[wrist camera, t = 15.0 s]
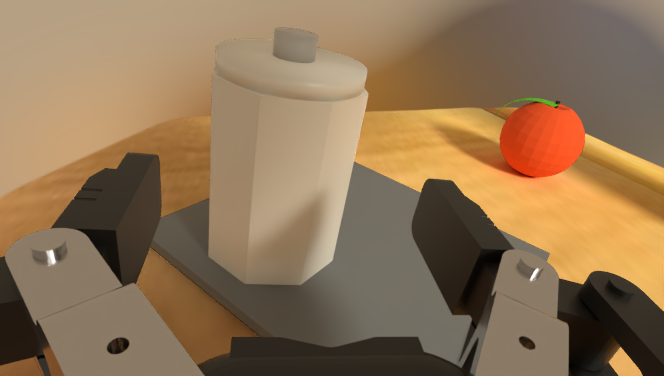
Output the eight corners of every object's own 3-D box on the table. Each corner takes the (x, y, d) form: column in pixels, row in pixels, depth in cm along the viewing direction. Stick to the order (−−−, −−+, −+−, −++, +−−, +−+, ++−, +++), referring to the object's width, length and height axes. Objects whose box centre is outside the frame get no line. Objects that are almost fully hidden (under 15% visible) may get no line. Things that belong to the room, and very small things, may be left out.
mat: (327, 156, 34) (328, 149, 34) (545, 260, 26) (549, 253, 26) (137, 236, 21) (137, 227, 21) (448, 489, 13) (453, 480, 13)
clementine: (469, 165, 38) (497, 91, 34) (488, 146, 43) (513, 81, 40) (559, 200, 34) (600, 122, 31) (567, 175, 40) (602, 106, 36)
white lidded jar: (270, 198, 26) (290, 15, 20) (351, 245, 23) (399, 48, 18) (185, 238, 21) (181, 14, 16) (273, 305, 18) (306, 58, 13)
